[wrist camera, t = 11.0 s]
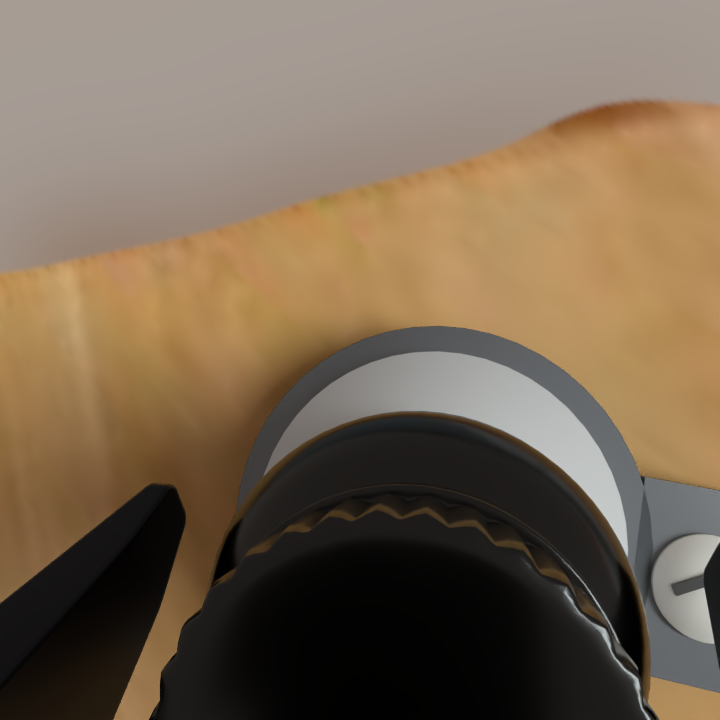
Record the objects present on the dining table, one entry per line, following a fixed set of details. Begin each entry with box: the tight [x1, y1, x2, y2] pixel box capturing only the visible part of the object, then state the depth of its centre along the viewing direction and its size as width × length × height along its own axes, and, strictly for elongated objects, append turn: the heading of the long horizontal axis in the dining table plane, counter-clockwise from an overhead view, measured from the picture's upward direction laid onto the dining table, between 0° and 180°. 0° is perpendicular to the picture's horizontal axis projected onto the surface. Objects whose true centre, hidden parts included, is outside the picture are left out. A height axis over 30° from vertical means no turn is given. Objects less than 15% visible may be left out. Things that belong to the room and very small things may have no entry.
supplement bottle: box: [149, 411, 659, 720], centre depth 11 cm, size 7×7×12 cm
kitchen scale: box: [236, 326, 720, 693], centre depth 18 cm, size 13×16×4 cm
